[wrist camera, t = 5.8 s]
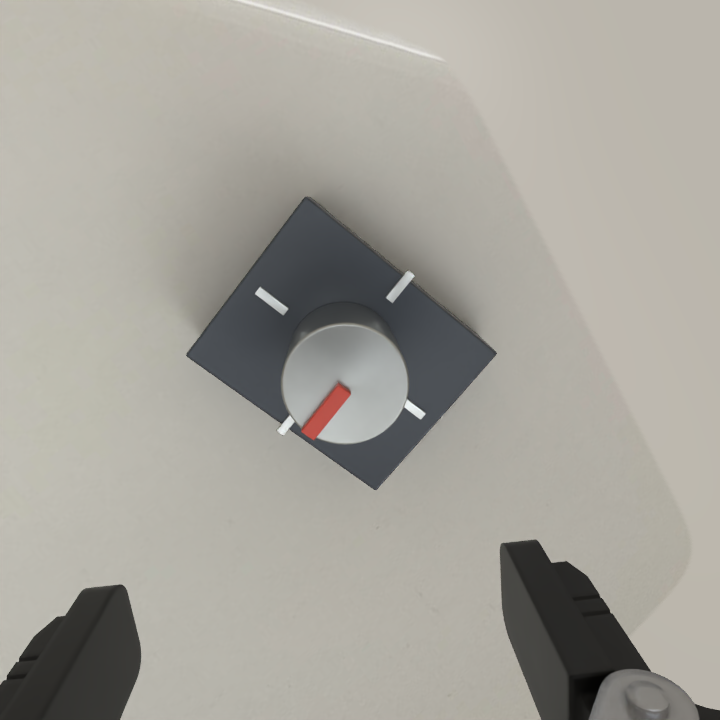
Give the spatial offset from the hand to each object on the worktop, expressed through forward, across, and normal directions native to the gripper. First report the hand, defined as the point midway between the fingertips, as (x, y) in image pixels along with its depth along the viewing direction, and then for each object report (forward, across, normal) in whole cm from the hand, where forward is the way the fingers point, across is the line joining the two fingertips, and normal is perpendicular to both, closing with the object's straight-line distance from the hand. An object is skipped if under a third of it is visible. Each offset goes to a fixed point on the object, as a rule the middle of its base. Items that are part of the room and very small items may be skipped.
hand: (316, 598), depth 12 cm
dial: (+12, -1, -2) cm, 12 cm away
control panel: (+15, -1, -2) cm, 15 cm away
